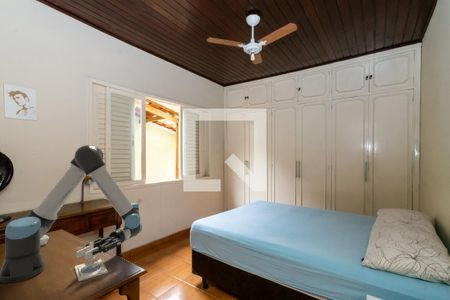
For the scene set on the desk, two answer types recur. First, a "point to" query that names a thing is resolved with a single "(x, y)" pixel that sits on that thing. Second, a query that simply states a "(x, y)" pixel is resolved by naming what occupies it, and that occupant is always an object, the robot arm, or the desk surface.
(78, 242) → the desk surface
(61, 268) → the desk surface
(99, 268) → the cream rectangular board
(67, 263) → the desk surface
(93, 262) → the white stepped tower
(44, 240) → the figurine
